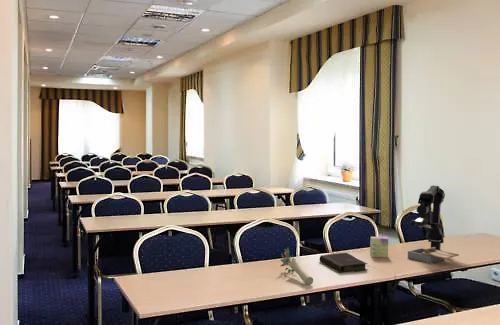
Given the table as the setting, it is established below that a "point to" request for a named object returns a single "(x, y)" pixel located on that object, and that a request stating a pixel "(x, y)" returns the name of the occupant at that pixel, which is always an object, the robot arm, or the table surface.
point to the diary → (343, 262)
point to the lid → (438, 253)
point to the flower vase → (296, 268)
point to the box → (379, 247)
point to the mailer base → (422, 256)
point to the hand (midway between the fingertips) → (425, 238)
